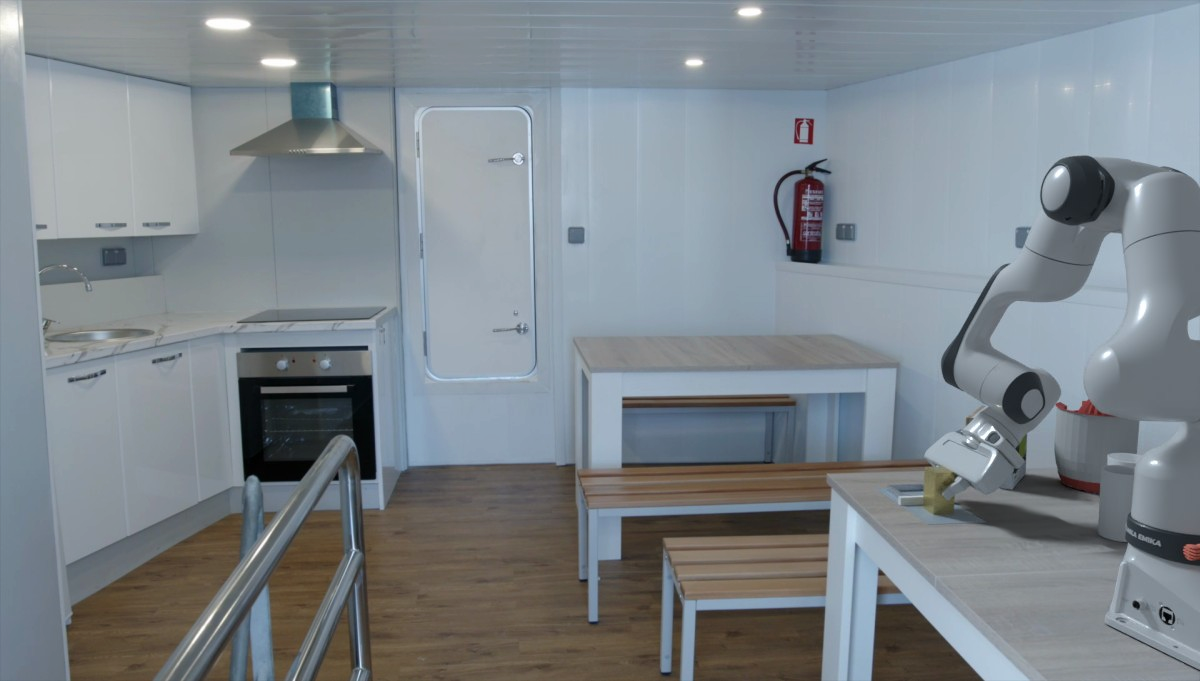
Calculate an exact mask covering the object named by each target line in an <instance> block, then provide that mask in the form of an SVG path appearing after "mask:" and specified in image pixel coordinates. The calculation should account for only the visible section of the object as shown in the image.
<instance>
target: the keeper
mask: <svg viewBox="0 0 1200 681" xmlns="http://www.w3.org/2000/svg"><path fill="white" fill-rule="evenodd" d="M886 488H887V491H888V492H889V493H891V494H892V495H894V496H895V497H897V498H898V496H918V495H905V494H903V493H902V492H900V491H918V490H921V491H923V492H924V483H910V484H909V483H907V484H905V483H904V484H886Z"/></svg>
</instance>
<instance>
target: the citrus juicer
mask: <svg viewBox="0 0 1200 681" xmlns="http://www.w3.org/2000/svg"><path fill="white" fill-rule="evenodd" d="M1055 408H1056V412H1055V413H1056V416H1055V429H1054V431H1055V432H1054V443H1053V444H1054V448H1053V449H1054V459H1055V464H1056V469H1057V475H1058V477H1059V479H1060V481H1061V483H1062V484H1063V485H1065V486H1067V487H1068V488H1069V487H1070V488H1073V489H1077V490H1081V491H1085V492H1086V493H1090V494H1097V493H1100V480H1101V467H1102V466H1106V465H1107V455H1108V454H1111V453H1130V454H1137V455H1138V446H1139V445H1138V444H1139V432H1140V431H1139V430H1140V421H1137V420H1131V419H1126V418H1121V417H1117V416H1113V415H1108V414H1104V413H1101V412H1100V411H1099V410H1097V409H1096V408H1095V406H1094V405H1093V404H1092V403H1091V401H1090V400H1089V398H1088V399H1087V400H1082V401H1081V406H1080V407H1079V409H1078V410H1077V409H1076V410H1070V409H1068V405H1067V404H1065V403H1063V402H1062V401H1060V402H1058V401H1057V403H1056V404H1055Z"/></svg>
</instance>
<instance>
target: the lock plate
mask: <svg viewBox="0 0 1200 681" xmlns="http://www.w3.org/2000/svg"><path fill="white" fill-rule="evenodd" d="M875 490H876V491H878V492H879V493H880V494H883V495H884V496H885V497H887V498H888V499H890V500H892V501H893V502H894V503H896V504H897V505H899V506H900V507H902V508H903V509H904V510H906V511H908V512H909V513H910V514H912V515H913V516H915V517H916V518H918V519H920V520H921V521H923V522H924V523H926V524H927V525H931V526H932V525H949V524H950V525H951V524H953V525H954V524H973V523H974V524H976V523H977V524H978V523H987V521H985V520H984V519H982V518H980V517H979V516H977V515H975V514H973V513H972V512H970V511H969V510H966V509H965V508H963V507H962V506H960V505H958V504H956V503H955V502H954V514H939V515H933V514H931V513H930V512H928V511H927V510H925V509H924V508H923V494H924V492H923V491H921V490H918V491H900V492H902V493H903V494H905V495H918V496H898V498H897V497H895V496H894V495H892V494H891V493H889V492H888V491H887V487H884V488H875ZM954 501H955V498H954Z"/></svg>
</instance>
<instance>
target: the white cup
mask: <svg viewBox="0 0 1200 681" xmlns="http://www.w3.org/2000/svg"><path fill="white" fill-rule="evenodd" d="M1142 455H1143V454H1142ZM1142 455H1141V454H1138V453H1137V454H1130V453H1111V454H1108V455H1107V465H1121V466H1129V467H1134V468H1135V466H1136V464H1137V462H1138V460H1139V459H1140V457H1141V456H1142Z"/></svg>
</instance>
